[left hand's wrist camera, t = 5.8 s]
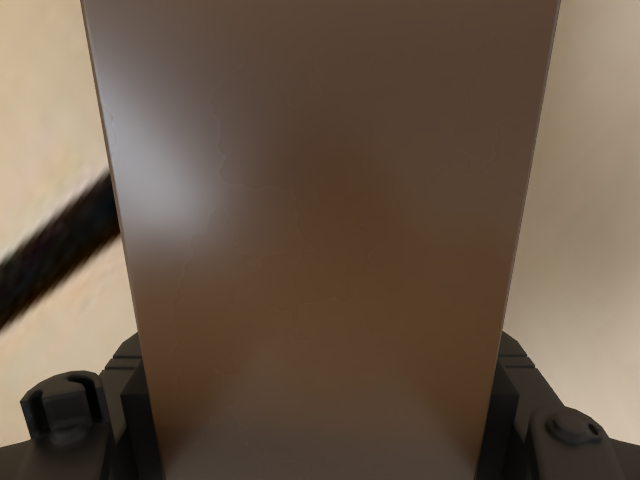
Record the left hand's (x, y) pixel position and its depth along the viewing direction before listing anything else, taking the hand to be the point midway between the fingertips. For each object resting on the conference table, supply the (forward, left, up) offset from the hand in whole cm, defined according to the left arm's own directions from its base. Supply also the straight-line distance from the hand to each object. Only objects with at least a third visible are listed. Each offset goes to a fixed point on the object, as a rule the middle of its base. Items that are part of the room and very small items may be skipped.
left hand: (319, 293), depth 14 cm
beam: (+19, 0, 0) cm, 19 cm away
